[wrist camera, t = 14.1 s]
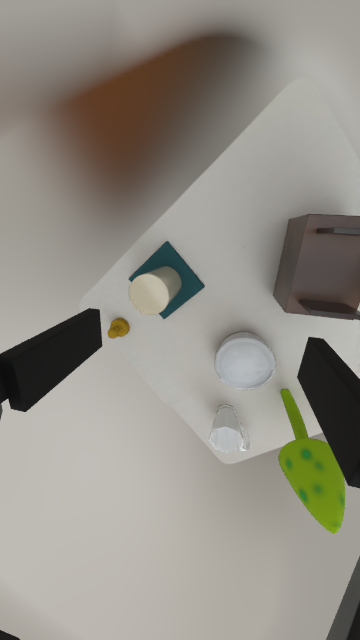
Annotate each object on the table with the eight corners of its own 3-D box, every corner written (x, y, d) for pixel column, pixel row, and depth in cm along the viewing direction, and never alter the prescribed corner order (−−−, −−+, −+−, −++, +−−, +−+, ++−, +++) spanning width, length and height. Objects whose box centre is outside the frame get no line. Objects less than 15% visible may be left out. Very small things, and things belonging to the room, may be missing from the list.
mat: (129, 278, 47) (128, 278, 46) (167, 241, 43) (166, 241, 42) (164, 318, 48) (163, 319, 48) (204, 286, 44) (204, 286, 43)
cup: (225, 394, 52) (224, 421, 44) (258, 421, 52) (263, 451, 45) (205, 410, 54) (201, 438, 47) (236, 436, 55) (237, 467, 48)
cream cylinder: (149, 264, 44) (128, 272, 35) (182, 267, 43) (169, 276, 34) (149, 297, 47) (129, 312, 37) (180, 300, 45) (167, 317, 36)
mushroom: (295, 369, 46) (360, 501, 23) (313, 400, 48) (391, 553, 25) (257, 384, 49) (280, 515, 26) (275, 413, 51) (313, 561, 28)
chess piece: (121, 337, 52) (110, 347, 47) (109, 324, 51) (97, 333, 47) (132, 328, 51) (123, 337, 46) (121, 314, 50) (110, 322, 45)
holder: (289, 219, 37) (323, 209, 24) (349, 222, 36) (423, 213, 22) (272, 295, 42) (293, 324, 28) (325, 301, 41) (374, 334, 27)
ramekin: (245, 384, 50) (247, 400, 45) (205, 354, 49) (202, 367, 44) (283, 350, 45) (290, 363, 40) (239, 316, 45) (241, 326, 40)
